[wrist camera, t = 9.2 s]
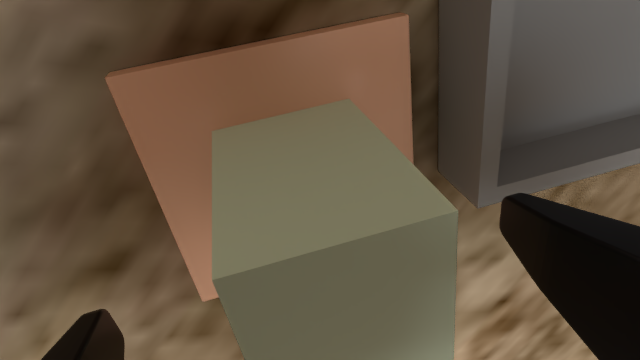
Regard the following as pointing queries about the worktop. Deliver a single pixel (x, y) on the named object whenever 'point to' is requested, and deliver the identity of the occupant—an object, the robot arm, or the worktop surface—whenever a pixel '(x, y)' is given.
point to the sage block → (330, 241)
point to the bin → (536, 93)
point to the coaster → (254, 109)
